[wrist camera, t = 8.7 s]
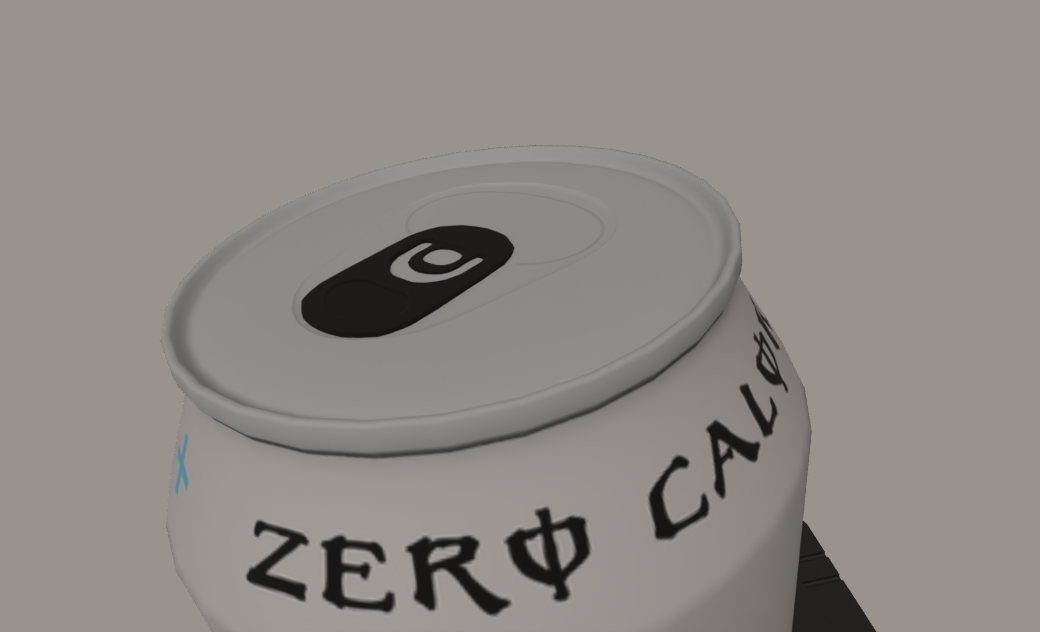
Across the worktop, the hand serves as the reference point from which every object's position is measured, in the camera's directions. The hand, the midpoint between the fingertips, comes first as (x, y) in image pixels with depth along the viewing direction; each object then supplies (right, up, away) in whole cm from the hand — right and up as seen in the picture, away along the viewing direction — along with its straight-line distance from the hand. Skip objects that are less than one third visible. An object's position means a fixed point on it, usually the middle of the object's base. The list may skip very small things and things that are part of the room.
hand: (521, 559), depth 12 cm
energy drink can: (+2, -8, +2) cm, 9 cm away
